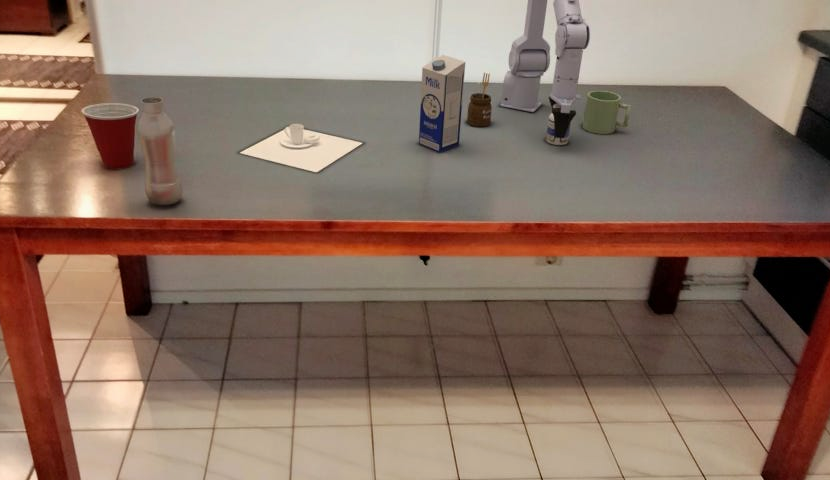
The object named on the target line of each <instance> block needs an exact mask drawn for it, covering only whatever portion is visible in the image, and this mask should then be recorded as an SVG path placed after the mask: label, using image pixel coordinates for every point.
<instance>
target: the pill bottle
mask: <svg viewBox="0 0 830 480" xmlns="http://www.w3.org/2000/svg"><path fill="white" fill-rule="evenodd" d="M553 108H560V105H559V104H554V105H553ZM571 122H572V121H571ZM571 122H570V124H569V126H568V129H567V132H566V134H565V137H564V138H555V133H554V116H553V113H552V112H551V113H550V114H549V116H548V123H547V129H546V137H545V141H546V142H547V143H548V144H551V145H555V146H564V145H566V144H568V142H569V136H570V130H571Z"/></svg>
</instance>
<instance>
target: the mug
mask: <svg viewBox="0 0 830 480" xmlns="http://www.w3.org/2000/svg"><path fill="white" fill-rule="evenodd" d="M621 102H622V97H621V95H619V94H618V93H616V92H612V91H607V90H591V91H589V92H587V95H586V100H585V107H584V113H583V119H582V128H583V129H584V130H585V131H587V132H590V133H593V134H599V135H608V134H609V135H610V134H613V133H614V132H615V131H616V128H617V127H622V128H627V127H628V125H629V120H630V115H631V109H632V106H631V104H625V103H621ZM620 109H625V115H624V119H623V122H621V121H618V118H619V113H620Z"/></svg>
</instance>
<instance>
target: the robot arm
mask: <svg viewBox="0 0 830 480" xmlns="http://www.w3.org/2000/svg"><path fill="white" fill-rule="evenodd" d="M526 5H527V6H526V14H525V21H524V29H523V31H524V32H523V34H522V35H521V36H519V37H517V38H516V39H514V40H513V41H512V43H511V48H510V51H509V54H508V67H509V70H507V71H506V73H505V74H504V78H503V84H502V92H501V102H500V104H499V106H500V107H503V108H508V109H512V110H513V109H514V110H519V111H524V112H529V113H534V112H535V111H537V109H539V108H540V107H541V105H542V102H540V101H539V94H540V87H541V78H542V77H543V76H544V73H546V72H547V71H548V70H549V68H550V64H551V46H550V43H549V42H548V41H547V40H546V39H545V38H544V36H543V35H544V28H545V21H546V15H547V6H548V0H527V4H526ZM552 5H553V11H554V15H555V23H556V26H557V28H556V31H555V34H554V42H555V48H554V49H555V50H554V53H555V56H556V59H555V65H554V72H553V73H554V74H553V80H552V86H551V92H550V96H548V100H549V103H550V108H551V114H552V113H553V116H554V133H555V138H564V137H565V134H566V132H567V129H568V126H569V124H570V125H571V123H570V122H572V121H573V119H574V118H575V117H576V115H577V111H576V110H573V109H572V110H571V108H572V107H571V106H573V104H574V103H575V102H576V101H580V100H581V99H582V97H581V95H580V94H577V93H578V92H577V91H578V85H579V78H580V73H581V72H580V71H581V67H582V61H583V53H584V50H586V49H587V48H588V46H589V44H590V39H591V30H590V29H591V28H590V25H589V23H588V22H587V21H586V19H585V18H583V16H582V10H581V6H580V1H579V0H553V3H552ZM554 104H559V105H560V108H553V105H554Z"/></svg>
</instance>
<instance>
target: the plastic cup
mask: <svg viewBox="0 0 830 480" xmlns="http://www.w3.org/2000/svg"><path fill="white" fill-rule="evenodd" d="M80 112H81V114H82V115H83V117H84V118H85V121H86V122H87V125H88V127H89V130H90V133H91V135H92V138H93V141H94V144H95V147H96V150H97V151H98V154H99V156H100V158H101V161H102V164H103V165H104V167H105V168H108V169H111V170H121V169H126V168H129V167H131V166H133V164H134V159H135V157H134V155H135V154H134V153H135V141H136V140H135V139H136V138H135V137H136V135H135V134H136V120H137V116H138V114H139V112H140V110H139V107H137V106H135V105H132V104H128V103H120V102H118V103H117V102H115V103H114V102H106V103H96V104H91V105H87V106H85V107H83V108H82V109H81V111H80Z"/></svg>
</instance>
